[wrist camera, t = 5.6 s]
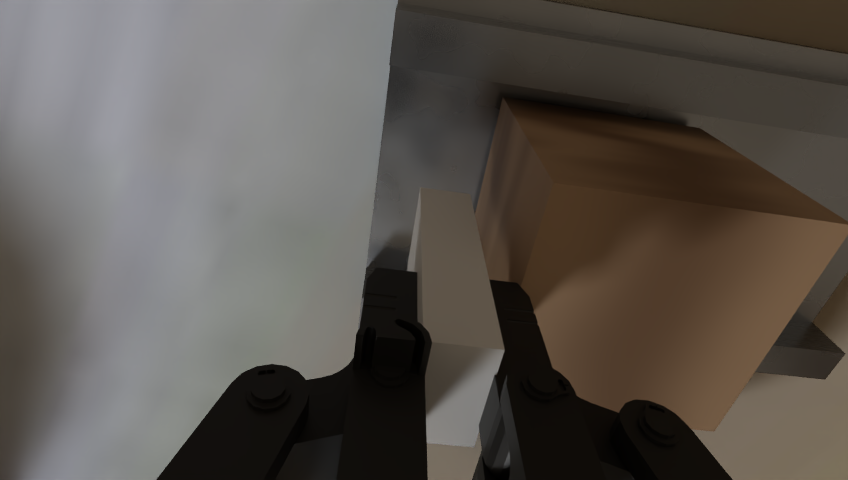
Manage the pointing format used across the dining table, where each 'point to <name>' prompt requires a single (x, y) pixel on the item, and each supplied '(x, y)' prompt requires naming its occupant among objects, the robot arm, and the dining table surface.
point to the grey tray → (614, 94)
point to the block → (647, 253)
